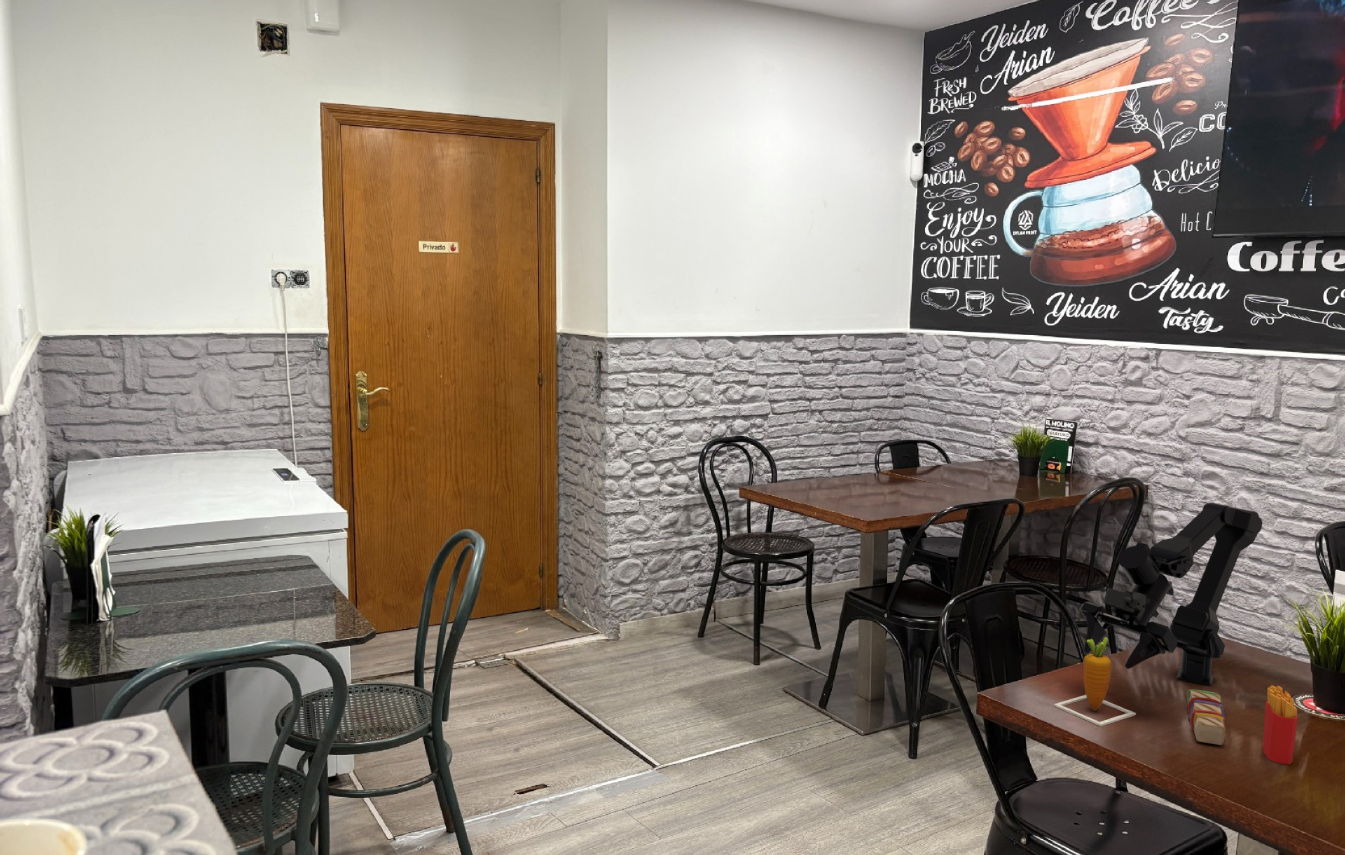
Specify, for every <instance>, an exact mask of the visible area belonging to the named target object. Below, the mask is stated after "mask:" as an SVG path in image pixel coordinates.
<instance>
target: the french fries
mask: <svg viewBox="0 0 1345 855" xmlns="http://www.w3.org/2000/svg"><path fill="white" fill-rule="evenodd" d="M1266 693H1267V701H1265V709H1264V710H1265V711H1264V722H1263V724H1264V725H1263V738H1262V740H1263V741H1262V751H1263V753H1264V755H1265V757H1266V758H1267V759H1268V760H1269V761H1271V762H1273V763H1276V764H1281V765H1290V764H1292V763H1293V760H1294V759H1293V758H1294V752H1295V744H1296V736H1297V734H1296V733H1297V727H1298V720H1299V716H1298V709H1297V707H1296V706H1295V700H1294V699H1293V698H1292V696H1291V693H1289V692H1288V691H1286V690H1284V692H1283V687H1281V686H1280V685H1276V686H1274V685H1272V684H1270V686H1268V687H1267V692H1266Z"/></svg>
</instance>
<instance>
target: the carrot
mask: <svg viewBox="0 0 1345 855" xmlns="http://www.w3.org/2000/svg"><path fill="white" fill-rule="evenodd" d="M1108 642H1109V638H1108V637H1106V636H1105V637H1103V640H1102V641H1100V642H1099V643H1098V644H1097V645H1096V646H1095V644H1094V641H1093V640H1092V639H1090V640H1087V643H1088V645H1089V646H1090V648H1091V652H1092V653H1088V654H1086V655H1085V656H1084V657H1083V658H1084V659H1083V685H1084V691H1085V695H1086V696H1087V699H1086V700H1087V702H1088V703H1089V704H1088V705H1089V706H1090V709H1092V710H1093V711H1094V712H1095V711H1098V709H1099V708H1100V706H1102V704H1103V703H1102V702H1103V700H1105V699H1106V696H1107V692H1108V689H1109V684H1110V681H1111V672H1112V660H1111V659H1110V658H1109V657H1108V656H1107V655H1104V654H1103V653H1104V652H1105V651H1106V649H1107V648H1108V647H1107V645H1108Z"/></svg>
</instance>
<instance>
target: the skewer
mask: <svg viewBox="0 0 1345 855" xmlns="http://www.w3.org/2000/svg"><path fill="white" fill-rule="evenodd" d="M1186 696H1187V704H1188V705H1187V711H1188V718H1189V719H1190V720H1189V722H1190V723H1189V724H1190V726H1191V729H1193V734H1195V735H1194V736H1195V740H1196V741H1197V742H1201V743H1205V744H1206V743H1207V744H1213V745H1218V746H1222V745H1223V744H1224V741H1225V736H1226V733H1227V728H1226V726H1227V725H1226V717H1227V712H1226V711H1227V710H1226V708H1224V705H1223V704H1222V697H1221V695H1220V694H1219V693H1217V692H1213V691H1207V690H1201V689H1188V691H1187V695H1186Z"/></svg>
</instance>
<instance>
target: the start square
mask: <svg viewBox="0 0 1345 855" xmlns="http://www.w3.org/2000/svg"><path fill="white" fill-rule="evenodd" d="M1084 700H1088V699H1087V696H1086V694H1084V695H1080V696H1077V697H1073V698H1070V699H1068V700H1067V699H1066V700H1062V701H1060V702H1055V703H1054V704H1053V707H1055V708H1057V709H1060V710H1062V711H1064V712H1067V713H1069V714H1071V715H1073V716H1075V717H1078V718H1080V719H1082V720H1086V721H1087V722H1089V723H1091V724H1093V725H1096V726H1099V727H1104V726H1106V725H1109V724H1112V723H1116V722H1119V721H1121V720H1125V719H1129V718H1130V717H1133V716H1136V714H1137V713H1136V712H1134V711H1132V710H1129V709H1126V708H1125V707H1122V706H1119V705H1117V704H1114V703H1112V702H1110V701H1108V700H1105V699H1104V700H1103V702H1102V704H1103V705H1106V706H1108V707H1110V708H1113V709H1115V710H1117V711H1119V712H1120V711H1121V712H1123V713H1124V714H1121V715H1118V716H1114V717H1111V718H1108V719H1106V720H1102V721H1098V720H1096V719H1094V718H1091V717H1089V716H1087V715H1085V714H1082V713H1079V712H1077V711H1075V710H1072V709H1071V708H1068V707H1066V706H1067V705H1070V704H1074V703H1077V702H1080V701H1084Z"/></svg>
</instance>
